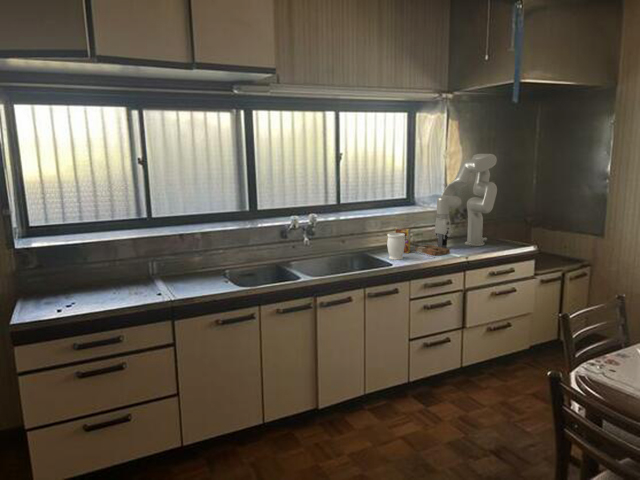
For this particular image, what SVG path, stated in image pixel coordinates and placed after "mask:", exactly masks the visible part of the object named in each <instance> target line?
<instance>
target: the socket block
mask: <svg viewBox="0 0 640 480" xmlns="http://www.w3.org/2000/svg"><path fill="white" fill-rule="evenodd" d="M414 250H415V253H416V254H420V255H424V256H427V257H431V258H434V259H435V258H436V257H437V256H443V255H444V256H445V255H448V254H450V251H451V248H450V249H446V248H442V247H438V245H437V246H436V245H432V244H425V245H420V246H415V248H414Z"/></svg>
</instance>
